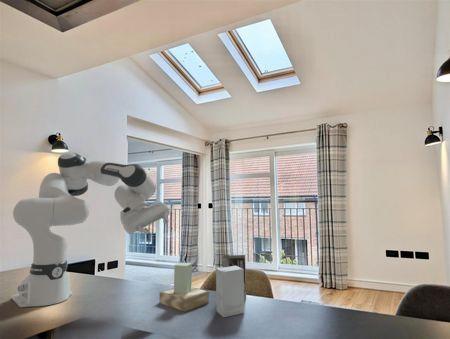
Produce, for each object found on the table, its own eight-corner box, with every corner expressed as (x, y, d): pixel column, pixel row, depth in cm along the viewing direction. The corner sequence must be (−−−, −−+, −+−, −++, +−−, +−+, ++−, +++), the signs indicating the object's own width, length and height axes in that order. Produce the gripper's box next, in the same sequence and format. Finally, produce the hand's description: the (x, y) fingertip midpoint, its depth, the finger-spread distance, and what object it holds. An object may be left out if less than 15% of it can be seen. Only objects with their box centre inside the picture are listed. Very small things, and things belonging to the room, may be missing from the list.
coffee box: (246, 296, 118) (246, 254, 120) (245, 301, 111) (245, 257, 113) (223, 295, 119) (223, 254, 121) (221, 300, 112) (221, 257, 114)
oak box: (159, 304, 110) (159, 291, 110) (183, 296, 119) (183, 284, 120) (184, 312, 101) (185, 299, 102) (208, 303, 110) (208, 291, 111)
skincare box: (236, 308, 104) (236, 265, 106) (245, 314, 99) (244, 268, 100) (215, 312, 101) (215, 267, 102) (222, 318, 95) (222, 270, 97)
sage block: (173, 293, 108) (174, 265, 109) (179, 289, 113) (179, 262, 114) (186, 294, 107) (187, 265, 108) (191, 290, 112) (191, 263, 113)
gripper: (159, 205, 136) (177, 221, 128) (118, 225, 123) (135, 244, 115) (159, 194, 132) (178, 210, 125) (116, 213, 119) (134, 233, 112)
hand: (157, 227), depth 120 cm, fingers open, 8 cm apart
